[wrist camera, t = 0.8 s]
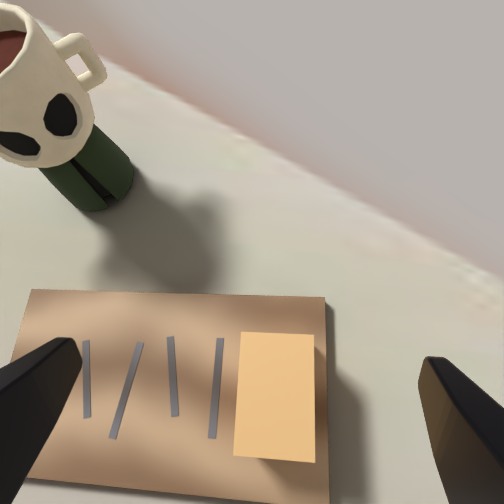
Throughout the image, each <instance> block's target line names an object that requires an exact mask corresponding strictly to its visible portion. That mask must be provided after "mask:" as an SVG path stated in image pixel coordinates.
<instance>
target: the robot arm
mask: <svg viewBox="0 0 504 504" xmlns="http://www.w3.org/2000/svg"><path fill="white" fill-rule="evenodd" d="M82 364H83V360H82V356H81V354H80V352H79V349H78V347H77V344H76V342H75V340H74V339H73V338H71V337H56V338H54V339H52V340H51V341H49V342H47V343H45V344H43V345H42V346H40V347H38V348H36V349H34V350H33V351H31V352H29V353H27V354H26V355H24V356H22V357H20V358H18V359H17V360H15V361H13V362H11V363H9V364H8V365H6V366H4V367H2V368H1V369H0V504H12V502H13V500H14V498H15V497H16V495H17V493H18V491H19V489H20V488H21V486H22V484H23V482H24V481H25V479H26V477H27V475H28V473H29V472H30V470H31V468H32V466H33V465H34V463H35V461H36V459H37V457H38V456H39V454H40V452H41V450H42V449H43V447H44V445H45V443H46V441H47V440H48V438H49V436H50V434H51V433H52V431H53V429H54V427H55V425H56V423H57V421H58V419H59V417H60V415H61V413H62V411H63V408H64V406H65V404H66V402H67V400H68V397H69V395H70V393H71V391H72V388H73V386H74V384H75V382H76V380H77V377H78V375H79V373H80V371H81V368H82ZM418 389H419V394H420V398H421V403H422V407H423V412H424V416H425V421H426V425H427V430H428V434H429V439H430V443H431V448H432V452H433V456H434V459H435V462H436V466H437V469H438V472H439V475H440V478H441V481H442V484H443V487H444V490H445V493H446V496H447V499H448V502H449V504H504V408H503V407H502V406H501V405H500V404H498V403H497V402H496V401H495V400H494V399H493V398H492V397H490V396H489V395H488V394H487V393H486V392H485V391H483V390H482V389H481V388H480V387H479V386H478V385H477V384H475V383H474V382H473V381H472V380H471V379H470V378H468V377H467V376H466V375H465V374H464V373H463V372H461V371H460V370H459V369H458V368H457V367H456V366H455V365H453V364H452V363H451V362H450V361H449V360H447V359H446V358H444V357H433V356H428V357H425V359H424V361H423V364H422V368H421V372H420V376H419V380H418Z"/></svg>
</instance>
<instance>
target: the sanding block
mask: <svg viewBox="0 0 504 504" xmlns="http://www.w3.org/2000/svg"><path fill="white" fill-rule="evenodd" d="M233 456H244V457H255V458H267V459H278V460H289V461H300V462H311V463H315V387H314V335H308V334H284V333H260V332H241V340H240V355H239V371H238V386H237V402H236V417H235V433H234V448H233Z"/></svg>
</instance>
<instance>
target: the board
mask: <svg viewBox="0 0 504 504" xmlns="http://www.w3.org/2000/svg"><path fill="white" fill-rule="evenodd" d="M241 332H260V333H284V334H308V335H314V387H315V463H311V462H300V461H289V460H278V459H267V458H255V457H244V456H233V448H234V433H235V417H236V402H237V386H238V371H239V355H240V340H241ZM56 337H71V338H73V339H74V340H75V342H76V344H77V347H78V349H79V352H80V354H81V356H82V360H83V364H82V368H81V371H80V373H79V375H78V377H77V380H76V382H75V384H74V386H73V388H72V391H71V393H70V395H69V397H68V400H67V402H66V404H65V406H64V408H63V411H62V413H61V415H60V417H59V419H58V421H57V423H56V425H55V427H54V429H53V431H52V433H51V434H50V436H49V438H48V440H47V441H46V443H45V445H44V447H43V449H42V450H41V452H40V454H39V456H38V457H37V459H36V461H35V463H34V465H33V466H32V468H31V470H30V472H29V473H28V475H27V477H28V478H37V479H46V480H56V481H65V482H75V483H84V484H93V485H103V486H112V487H122V488H131V489H140V490H150V491H159V492H169V493H178V494H187V495H197V496H206V497H215V498H225V499H234V500H244V501H253V502H262V503H272V504H329V459H328V413H327V368H326V323H325V297H296V296H260V295H224V294H188V293H152V292H116V291H80V290H44V289H31V293H30V296H29V300H28V303H27V306H26V310H25V313H24V317H23V320H22V324H21V327H20V330H19V334H18V337H17V341H16V344H15V348H14V351H13V354H12V358H11V361H10V363H11V362H13V361H15V360H17V359H18V358H20V357H22V356H24V355H26V354H27V353H29V352H31V351H33V350H34V349H36V348H38V347H40V346H42V345H43V344H45V343H47V342H49V341H51V340H52V339H54V338H56Z"/></svg>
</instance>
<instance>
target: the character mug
mask: <svg viewBox="0 0 504 504" xmlns="http://www.w3.org/2000/svg"><path fill="white" fill-rule="evenodd" d="M77 53H78V54H79V55H80V57H81V58H82V60H83V61H84V63H85V64H86V66H87V67H88V69H89V70H88V71H87V72H85V73H83V74H81V75H80V76H78V77H76V76H75V74H74V73H73V72H72V70H71V69H70V68H69V66H68V65H67V63H66V62H65V61H64V60H66V59H68V58H70V57H71V56H73V55H75V54H77ZM106 78H107V72H106V68H105V67H104V65H103V63H102V62H101V60H100V58H99V57H98V55H97V53H96V52H95V50H94V48H93V47H92V45H91V43H90V42H89V40H88V39H87V38H86V37H85V36H84V35H83V34H82V33H73V34H70V35H68V36H66V37H64V38H62V39H60V40H59V41H57V42H55V43H53V44H52V42H51V41H50V40H49V38H48V37H47V36H46V34H45V33H44V31H43V30H42V29H41V27H40V26H39V24H38V23H37V22H36V21H35V20H34V18H33V17H32V16H31V15H30V14H28V13H27V12H26V11H25V10H23V9H22V8H21V7H19V6H17V5H11V4H6V3H0V157H2V158H3V159H4V160H6V161H8V162H12V163H14V164H17V165H20V166H23V167H27V168H38V169H39V170H40V171H41V172H42V173H43V174H44V175H45V176H46V178H47V179H48V180H49V181H50V182H51V183H52V184H53V185H54V186H55V187H56V188H57V189H58V190H59V192H60V193H61V194H62V195H63V196H64V197H66V198H67V199H68V200H69V201H70V202H71V203H72V204H73V205H74V206H75V207H76V208H79V209H83V210H87V211H96V210H101V209H106V208H107V207H109V206H108V205H107V204H106V203H105V202H104V201H103V199H102V197H105V196H107V195H108V194H109V193H111V194H112V195H113V196H114V197H115V198H116V199H117V200H120V199H122V198H123V196H124V195H125V193H126V192H127V191H128V189H129V188H130V187H131V183H132V178H133V174H134V171H133V168H132V165H131V162H130V159H129V157H128V156H127V155H126V154H125V153H124V152H123V151H122V150H121V149H120V148H119V147H118V146H117V145H116V144H115V143H114V142H113V141H112V140H111V139H110V138H109V137H108V136H106V135H105V134H104V133H103V132H102V131H101V130H100V129H99V128H98V127H97V126H96V125H95V124H93V123H94V119H95V116H94V111H93V107H92V104H91V100H90V96H89V94H88V92H87V91H89V90H91V89H92V88H94V87H96V86H98V85H99V84H101V83H103V82H104V80H105V79H106Z"/></svg>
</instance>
